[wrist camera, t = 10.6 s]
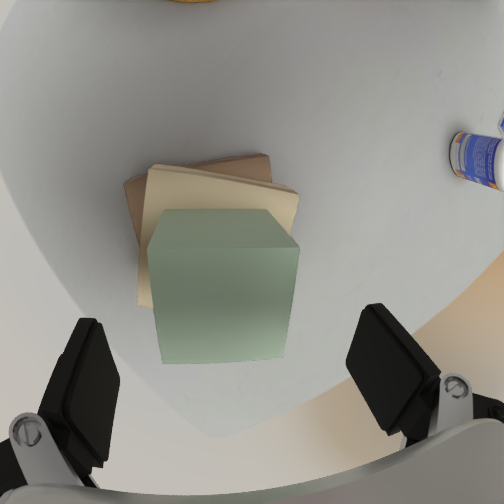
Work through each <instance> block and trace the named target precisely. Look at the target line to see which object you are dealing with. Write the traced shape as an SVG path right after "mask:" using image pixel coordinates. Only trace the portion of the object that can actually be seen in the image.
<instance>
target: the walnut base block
mask: <svg viewBox="0 0 504 504" xmlns="http://www.w3.org/2000/svg"><path fill="white" fill-rule="evenodd" d="M182 167H185V168H191V169H198V170H204V171H210V172H216V173H222V174H228V175H233V176H239V177H244V178H249V179H255V180H260V181H265V182H270V183H272V178H271V170H270V161H269V156H268V155H265V154H262V153H261V154H253V155H246V156H239V157H233V158H226V159H220V160H214V161H209V162H203V163H198V164H192V165H187V166H182ZM147 177H148V174H145V175H141V176H137V177H133V178H130V179H129V180H128V181H126V182H125V183H124V188H125V192H126V197H127V201H128V205H129V209H130V213H131V217H132V221H133V225H134V229H135V232H136V236H137V240H138V243H139V247H140V240H141V228H142V218H143V209H144V200H145V192H146V184H147Z"/></svg>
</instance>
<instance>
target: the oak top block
mask: <svg viewBox="0 0 504 504" xmlns="http://www.w3.org/2000/svg"><path fill="white" fill-rule="evenodd" d="M299 198H300V195H299V194H298V193H296V192H295V191H293V190H292V189H290V188H288V187H287V186H284V185H279V184H274V183H270V182H265V181H260V180H255V179H249V178H244V177H239V176H233V175H228V174H222V173H216V172H210V171H204V170H198V169H191V168H185V167H178V166H171V165H164V164H155V165H153V166H152V167H151V168H149V170H148V177H147V184H146V192H145V200H144V209H143V218H142V228H141V240H140V254H139V271H138V301H137V306H144V307H151V308H153V302H152V294H151V286H150V277H149V267H148V257H147V248H148V245H149V243H150V240H151V238H152V236H153V233H154V231H155V229H156V226H157V224H158V222H159V219H160V217H161V215H162V213H163V210H164V209H267V210H268V211H269V212H270V214H271V215H272V216H273V217H274V218H275V219H276V220H277V221H278V223H279V224H280V225H281V226H282V227H283V228H284V229H285V231H286V232H287V233H288V234H289V235H290V232H291V228H292V225H293V221H294V217H295V214H296V210H297V206H298V202H299Z"/></svg>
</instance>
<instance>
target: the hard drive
mask: <svg viewBox="0 0 504 504" xmlns="http://www.w3.org/2000/svg"><path fill="white" fill-rule="evenodd" d="M498 129H499V131H500V134H501V136H502V138H503V139H504V112H503V114H502V117H501V119H500V121H499V123H498Z"/></svg>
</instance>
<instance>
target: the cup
mask: <svg viewBox="0 0 504 504" xmlns="http://www.w3.org/2000/svg"><path fill="white" fill-rule="evenodd" d="M173 1H180V2H189V3H191V2H204V1H214V0H173Z"/></svg>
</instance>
